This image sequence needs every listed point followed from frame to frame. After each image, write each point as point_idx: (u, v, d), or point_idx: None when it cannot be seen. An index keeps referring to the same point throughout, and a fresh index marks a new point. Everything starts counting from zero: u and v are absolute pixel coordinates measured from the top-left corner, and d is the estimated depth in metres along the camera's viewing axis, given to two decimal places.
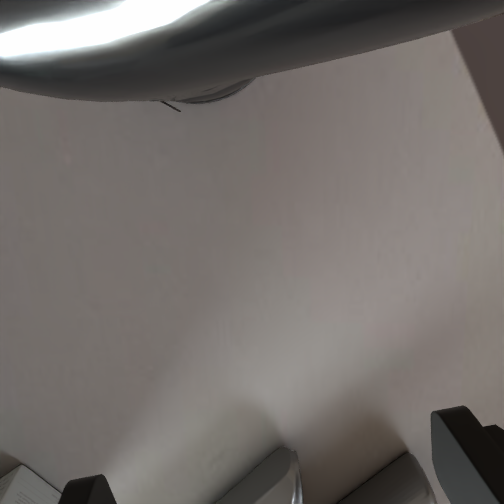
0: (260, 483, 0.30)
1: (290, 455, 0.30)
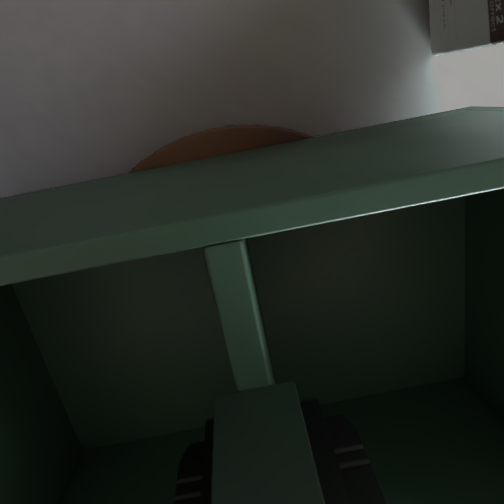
0: None
1: None
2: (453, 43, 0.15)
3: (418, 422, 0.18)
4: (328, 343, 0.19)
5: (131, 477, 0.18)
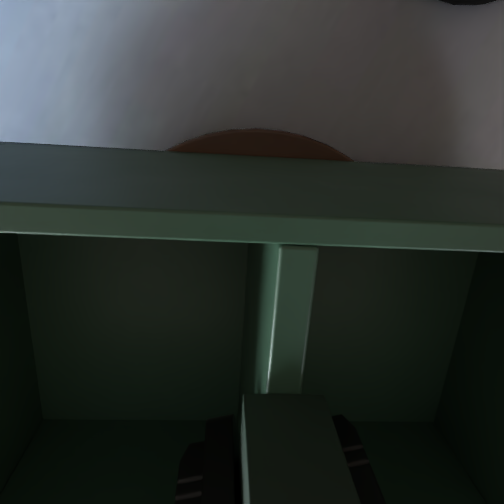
0: None
1: None
2: None
3: (387, 457, 0.18)
4: (317, 362, 0.19)
5: (92, 457, 0.17)
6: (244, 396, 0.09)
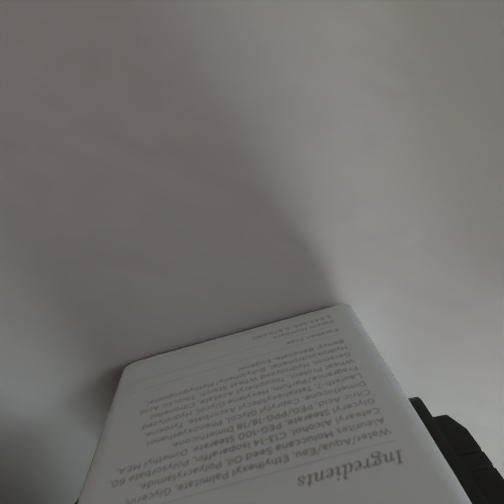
0: None
1: None
2: None
3: None
4: None
5: None
6: None
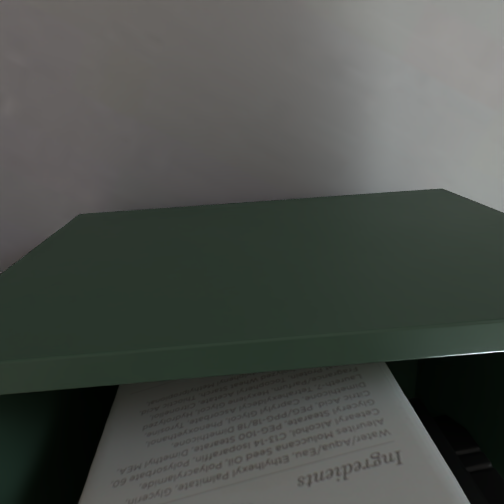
0: None
1: None
2: None
3: None
4: None
5: None
6: None
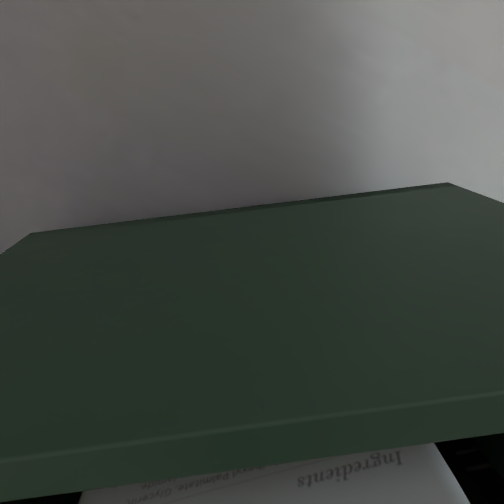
0: None
1: None
2: None
3: None
4: None
5: None
6: None
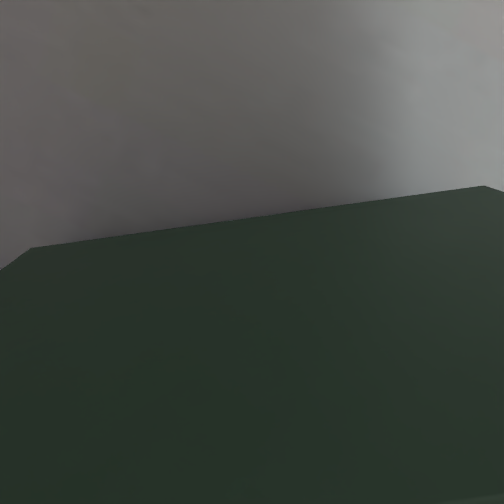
0: None
1: None
2: None
3: None
4: None
5: None
6: None
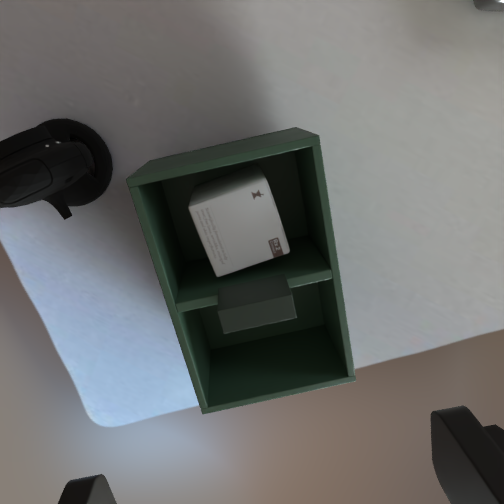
0: None
1: None
2: None
3: (302, 177, 0.34)
4: None
5: (325, 310, 0.38)
6: None
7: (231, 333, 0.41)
